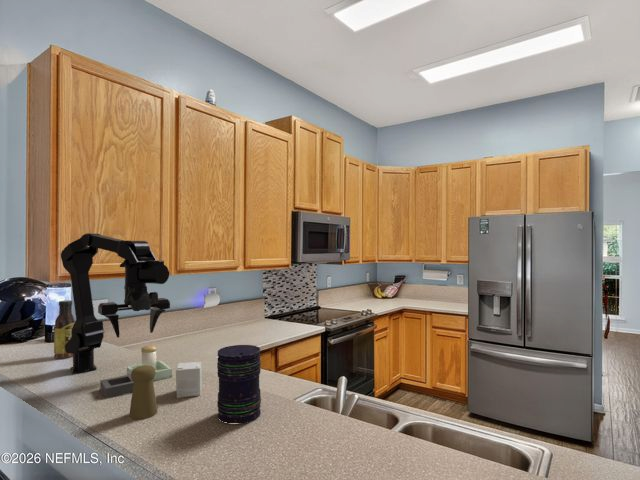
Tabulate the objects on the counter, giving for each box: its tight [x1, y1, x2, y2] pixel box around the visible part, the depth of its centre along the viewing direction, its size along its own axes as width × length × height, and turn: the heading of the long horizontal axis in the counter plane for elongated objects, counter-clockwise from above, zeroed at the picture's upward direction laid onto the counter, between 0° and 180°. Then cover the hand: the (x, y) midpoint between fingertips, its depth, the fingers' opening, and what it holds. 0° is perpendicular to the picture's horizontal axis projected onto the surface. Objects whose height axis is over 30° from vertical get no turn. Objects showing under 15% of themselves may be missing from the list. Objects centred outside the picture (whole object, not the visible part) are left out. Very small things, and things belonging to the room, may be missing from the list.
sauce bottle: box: [53, 299, 76, 360], centre depth 138 cm, size 7×6×20 cm
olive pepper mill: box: [128, 365, 158, 421], centre depth 90 cm, size 6×6×11 cm
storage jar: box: [216, 344, 262, 424], centre depth 89 cm, size 10×10×15 cm
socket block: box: [99, 374, 134, 399], centre depth 105 cm, size 8×8×2 cm
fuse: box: [140, 345, 158, 371], centre depth 116 cm, size 4×4×8 cm
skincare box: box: [175, 361, 203, 399], centre depth 103 cm, size 6×6×7 cm
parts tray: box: [126, 359, 173, 382], centre depth 116 cm, size 11×10×2 cm
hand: (135, 335), depth 115 cm, fingers open, 9 cm apart
